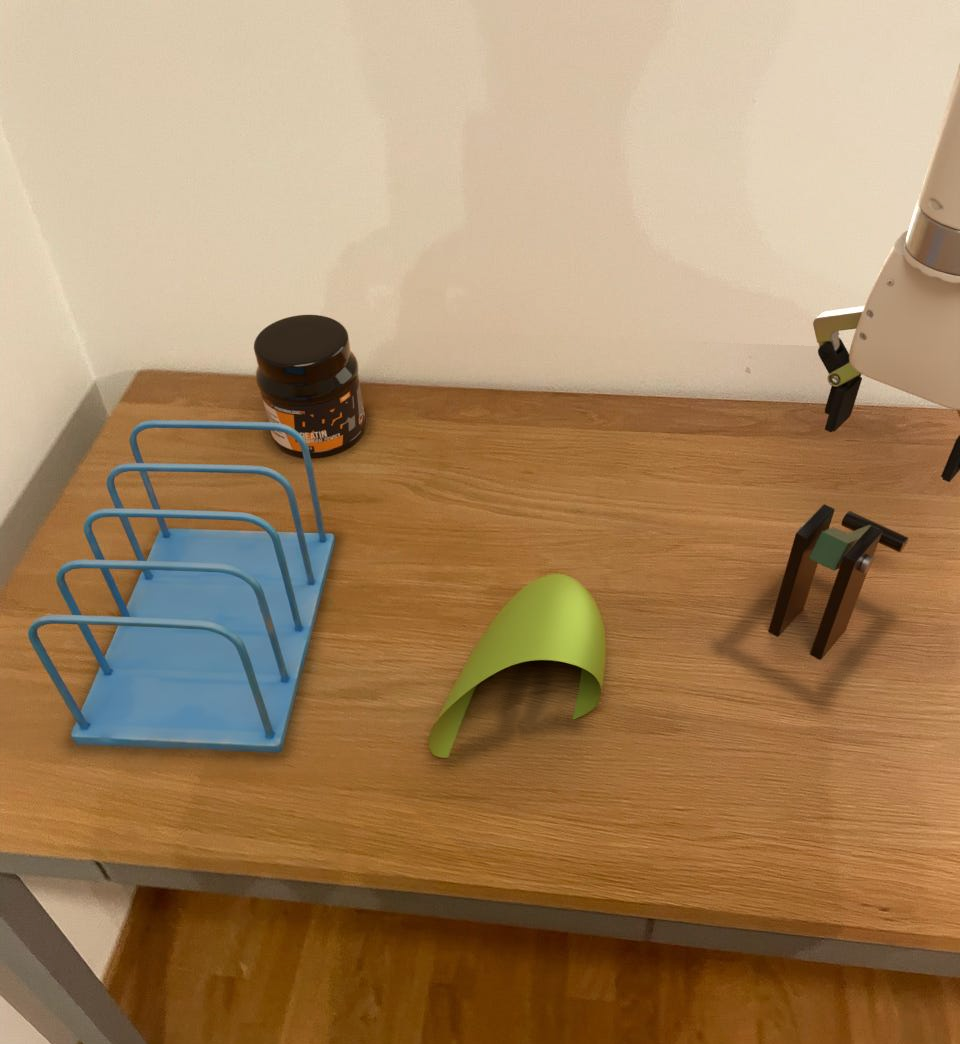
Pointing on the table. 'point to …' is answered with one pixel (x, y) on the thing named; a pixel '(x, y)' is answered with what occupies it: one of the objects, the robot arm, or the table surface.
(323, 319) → the supplement container
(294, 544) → the file sorter
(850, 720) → the table surface
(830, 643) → the bracket
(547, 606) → the curved green shell
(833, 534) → the lever
